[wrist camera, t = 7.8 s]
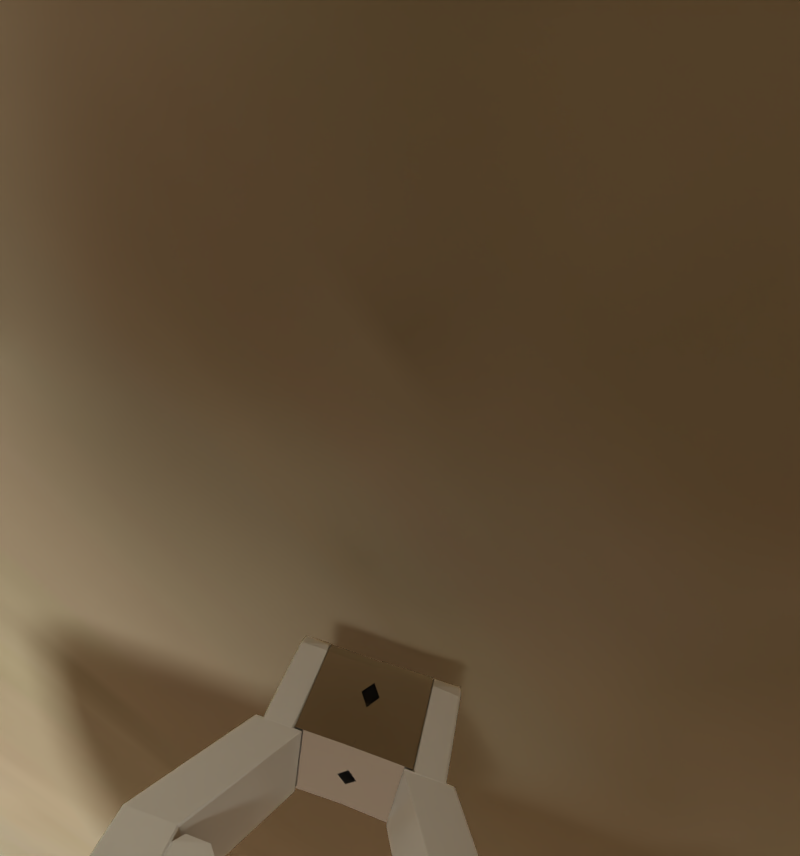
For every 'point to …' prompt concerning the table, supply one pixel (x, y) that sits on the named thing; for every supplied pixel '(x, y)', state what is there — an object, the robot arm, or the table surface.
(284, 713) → the robot arm
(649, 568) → the table surface
